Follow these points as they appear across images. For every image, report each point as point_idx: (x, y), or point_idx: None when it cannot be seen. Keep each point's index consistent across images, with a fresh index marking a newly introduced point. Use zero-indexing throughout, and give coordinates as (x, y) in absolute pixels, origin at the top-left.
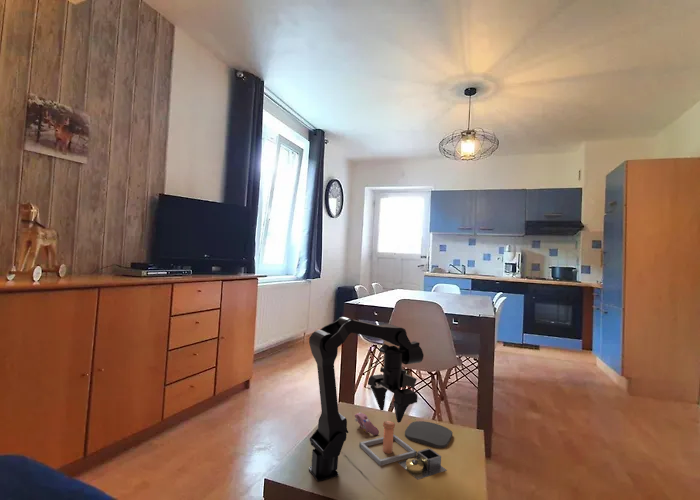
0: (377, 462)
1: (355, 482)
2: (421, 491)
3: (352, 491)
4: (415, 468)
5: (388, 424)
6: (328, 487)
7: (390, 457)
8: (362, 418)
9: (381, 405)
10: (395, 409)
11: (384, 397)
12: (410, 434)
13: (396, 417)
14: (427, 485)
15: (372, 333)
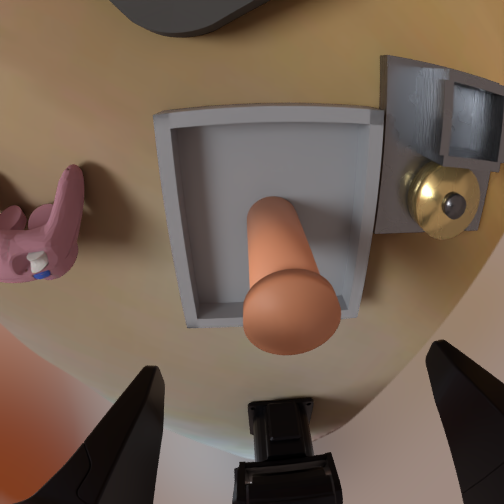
0: None
1: (357, 373)
2: (492, 237)
3: (379, 384)
4: (468, 224)
5: (302, 330)
6: (335, 415)
7: (359, 269)
8: (24, 279)
9: (157, 423)
10: (467, 473)
11: (120, 476)
12: (184, 8)
13: (440, 402)
14: (491, 200)
15: None
